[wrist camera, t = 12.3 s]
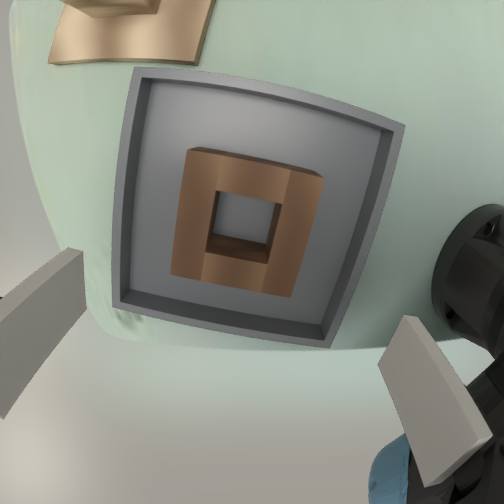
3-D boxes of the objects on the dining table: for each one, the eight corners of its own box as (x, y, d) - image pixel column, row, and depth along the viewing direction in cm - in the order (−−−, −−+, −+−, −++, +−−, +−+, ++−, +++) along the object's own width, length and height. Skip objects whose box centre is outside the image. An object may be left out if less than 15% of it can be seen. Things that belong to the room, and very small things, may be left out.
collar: (313, 170, 22) (325, 178, 19) (285, 273, 26) (290, 297, 22) (198, 146, 22) (187, 149, 18) (181, 253, 25) (170, 274, 21)
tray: (389, 124, 21) (405, 125, 18) (323, 329, 29) (329, 348, 26) (147, 73, 20) (134, 66, 17) (124, 290, 27) (112, 307, 25)
